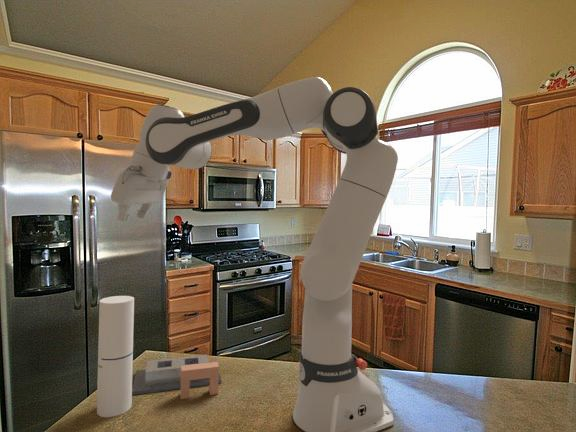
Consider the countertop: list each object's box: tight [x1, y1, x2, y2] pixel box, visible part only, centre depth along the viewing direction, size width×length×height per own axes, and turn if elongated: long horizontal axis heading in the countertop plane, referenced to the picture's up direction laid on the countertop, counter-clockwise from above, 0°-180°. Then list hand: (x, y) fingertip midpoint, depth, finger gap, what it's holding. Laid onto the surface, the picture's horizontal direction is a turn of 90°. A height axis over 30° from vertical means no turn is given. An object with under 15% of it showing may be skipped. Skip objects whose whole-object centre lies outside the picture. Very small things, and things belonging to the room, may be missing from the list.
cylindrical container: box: [96, 295, 135, 418], centre depth 78 cm, size 7×7×25 cm
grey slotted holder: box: [132, 354, 222, 396], centre depth 93 cm, size 22×12×4 cm, turn 109°
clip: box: [179, 361, 220, 400], centre depth 85 cm, size 9×3×7 cm, turn 109°
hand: (131, 218), depth 88 cm, fingers open, 8 cm apart
